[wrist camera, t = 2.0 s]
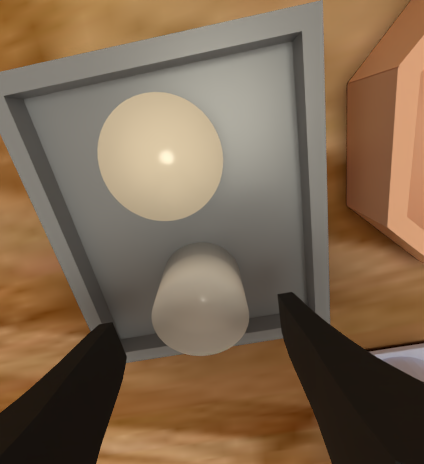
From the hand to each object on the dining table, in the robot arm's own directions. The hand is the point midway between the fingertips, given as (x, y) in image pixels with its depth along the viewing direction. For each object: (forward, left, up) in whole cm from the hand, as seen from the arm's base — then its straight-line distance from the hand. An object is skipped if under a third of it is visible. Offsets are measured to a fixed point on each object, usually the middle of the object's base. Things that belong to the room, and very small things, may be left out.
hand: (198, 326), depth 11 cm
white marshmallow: (0, 0, -4) cm, 4 cm away
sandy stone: (+7, 0, -4) cm, 8 cm away
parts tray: (+3, 0, -5) cm, 6 cm away
